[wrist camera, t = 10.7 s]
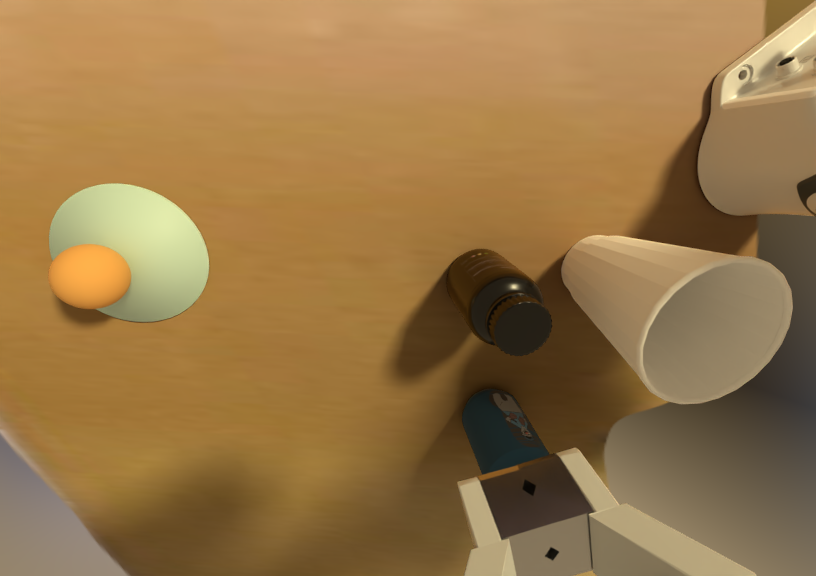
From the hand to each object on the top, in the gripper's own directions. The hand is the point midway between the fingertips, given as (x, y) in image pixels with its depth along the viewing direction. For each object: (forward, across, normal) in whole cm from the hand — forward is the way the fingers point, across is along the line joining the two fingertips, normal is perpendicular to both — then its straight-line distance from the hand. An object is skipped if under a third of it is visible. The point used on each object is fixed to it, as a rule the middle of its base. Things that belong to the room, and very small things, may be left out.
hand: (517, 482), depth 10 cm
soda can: (+31, -6, +25) cm, 41 cm away
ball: (+28, +26, -2) cm, 39 cm away
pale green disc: (+31, +24, -3) cm, 39 cm away
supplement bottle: (+31, -7, +8) cm, 33 cm away
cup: (+31, -20, +11) cm, 38 cm away
